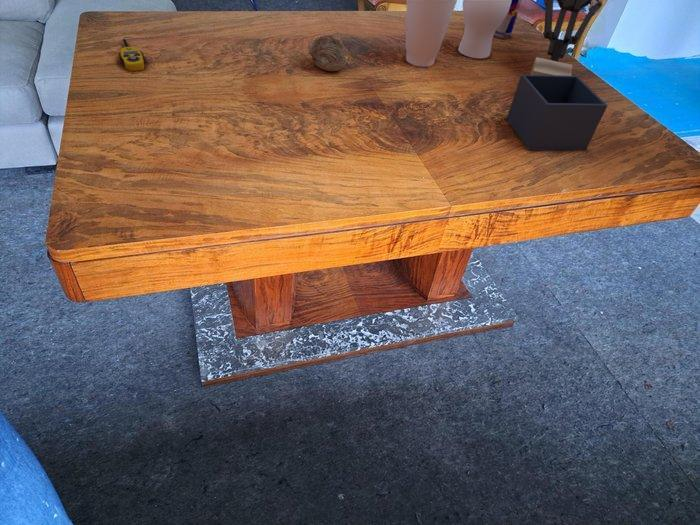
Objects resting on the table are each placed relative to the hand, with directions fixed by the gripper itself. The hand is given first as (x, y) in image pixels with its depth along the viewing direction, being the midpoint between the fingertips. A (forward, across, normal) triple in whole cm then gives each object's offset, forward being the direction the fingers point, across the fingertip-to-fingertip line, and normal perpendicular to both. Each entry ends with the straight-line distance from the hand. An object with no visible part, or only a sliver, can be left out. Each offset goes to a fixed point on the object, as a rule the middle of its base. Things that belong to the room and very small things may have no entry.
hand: (551, 69), depth 116 cm
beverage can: (-17, +14, -24) cm, 32 cm away
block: (+7, 0, 0) cm, 7 cm away
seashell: (+15, +49, +8) cm, 52 cm away
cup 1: (+4, +30, -3) cm, 31 cm away
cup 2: (-5, +19, -12) cm, 23 cm away
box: (+19, -1, +12) cm, 23 cm away
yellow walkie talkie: (+27, +88, +20) cm, 94 cm away
